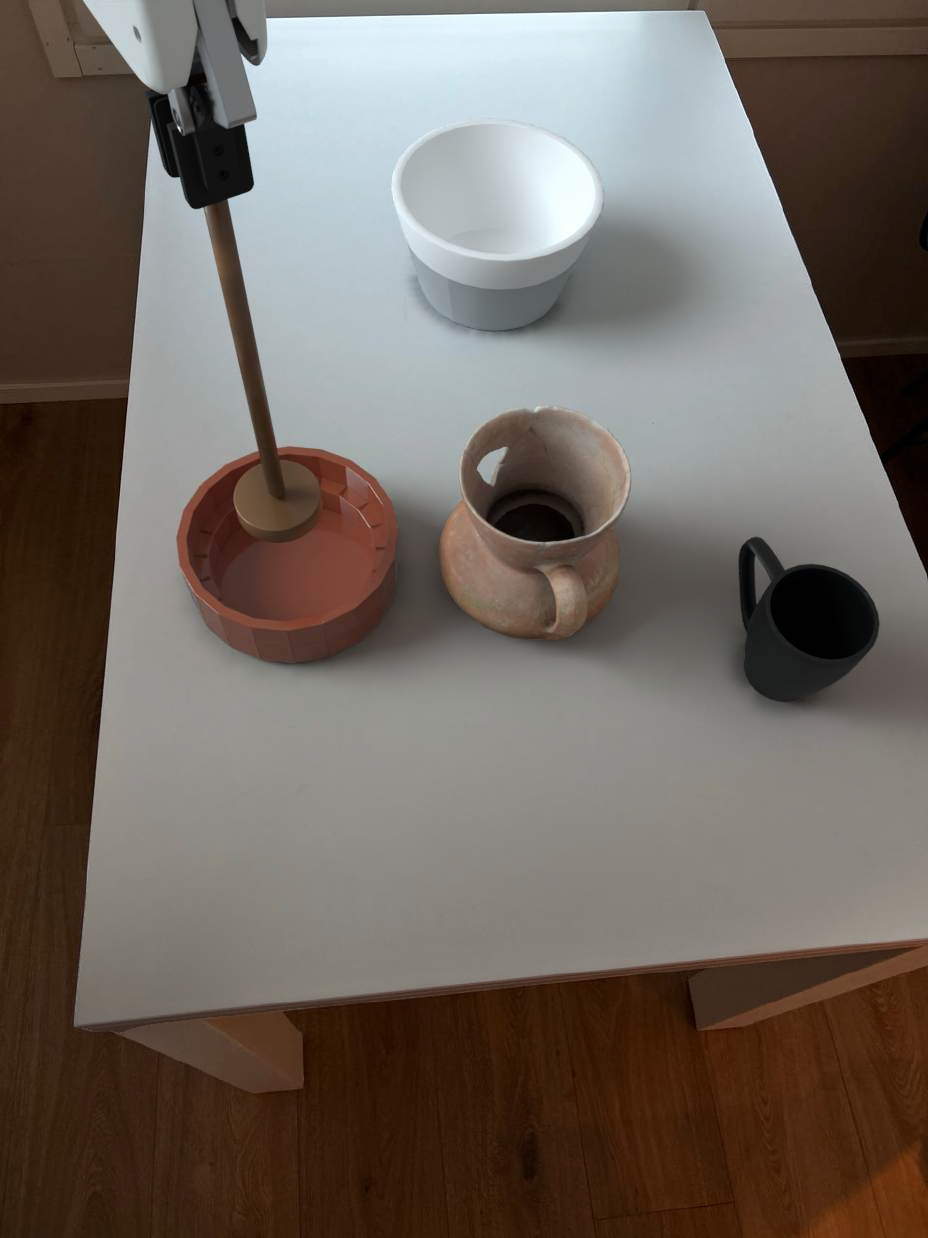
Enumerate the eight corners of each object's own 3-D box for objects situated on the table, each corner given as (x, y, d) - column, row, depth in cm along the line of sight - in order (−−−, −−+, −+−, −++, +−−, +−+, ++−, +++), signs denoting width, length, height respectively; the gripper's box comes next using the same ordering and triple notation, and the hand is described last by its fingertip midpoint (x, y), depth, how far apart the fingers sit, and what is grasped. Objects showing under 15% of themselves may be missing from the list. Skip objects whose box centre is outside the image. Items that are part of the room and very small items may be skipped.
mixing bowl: (247, 702, 73) (235, 667, 68) (160, 542, 80) (142, 499, 74) (435, 606, 78) (437, 567, 73) (338, 462, 84) (333, 417, 79)
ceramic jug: (422, 502, 83) (423, 389, 70) (585, 482, 85) (615, 368, 72) (460, 692, 74) (469, 602, 62) (640, 665, 76) (684, 572, 64)
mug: (762, 574, 81) (802, 508, 73) (850, 692, 76) (904, 636, 68) (680, 610, 79) (712, 547, 70) (765, 734, 74) (810, 682, 66)
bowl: (621, 316, 94) (644, 225, 85) (443, 375, 90) (446, 285, 80) (531, 194, 102) (543, 97, 93) (363, 242, 98) (357, 146, 88)
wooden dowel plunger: (260, 556, 66) (145, 125, 38) (222, 494, 68) (89, 43, 40) (337, 520, 68) (283, 81, 40) (299, 461, 70) (221, 6, 42)
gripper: (-112, -434, 31) (70, 110, 47) (68, -222, 25) (205, 318, 41) (114, -464, 33) (213, 66, 49) (330, -275, 27) (362, 259, 43)
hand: (209, 178), depth 45 cm, fingers closed on wooden dowel plunger
